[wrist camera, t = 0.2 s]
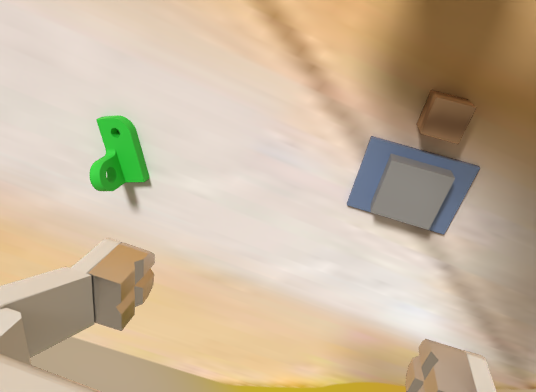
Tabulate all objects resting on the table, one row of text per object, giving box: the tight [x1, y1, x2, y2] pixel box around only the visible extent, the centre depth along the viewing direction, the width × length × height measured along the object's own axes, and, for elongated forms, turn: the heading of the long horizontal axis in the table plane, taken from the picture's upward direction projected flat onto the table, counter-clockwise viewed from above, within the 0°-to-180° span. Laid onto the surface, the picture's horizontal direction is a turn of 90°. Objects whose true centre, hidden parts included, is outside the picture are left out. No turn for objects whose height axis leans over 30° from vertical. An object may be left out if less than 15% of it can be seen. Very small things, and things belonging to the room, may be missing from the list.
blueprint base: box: [347, 136, 480, 234], centre depth 56 cm, size 12×16×4 cm
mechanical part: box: [90, 116, 149, 191], centre depth 65 cm, size 12×6×8 cm, turn 7°
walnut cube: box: [417, 90, 476, 144], centre depth 50 cm, size 5×5×5 cm
